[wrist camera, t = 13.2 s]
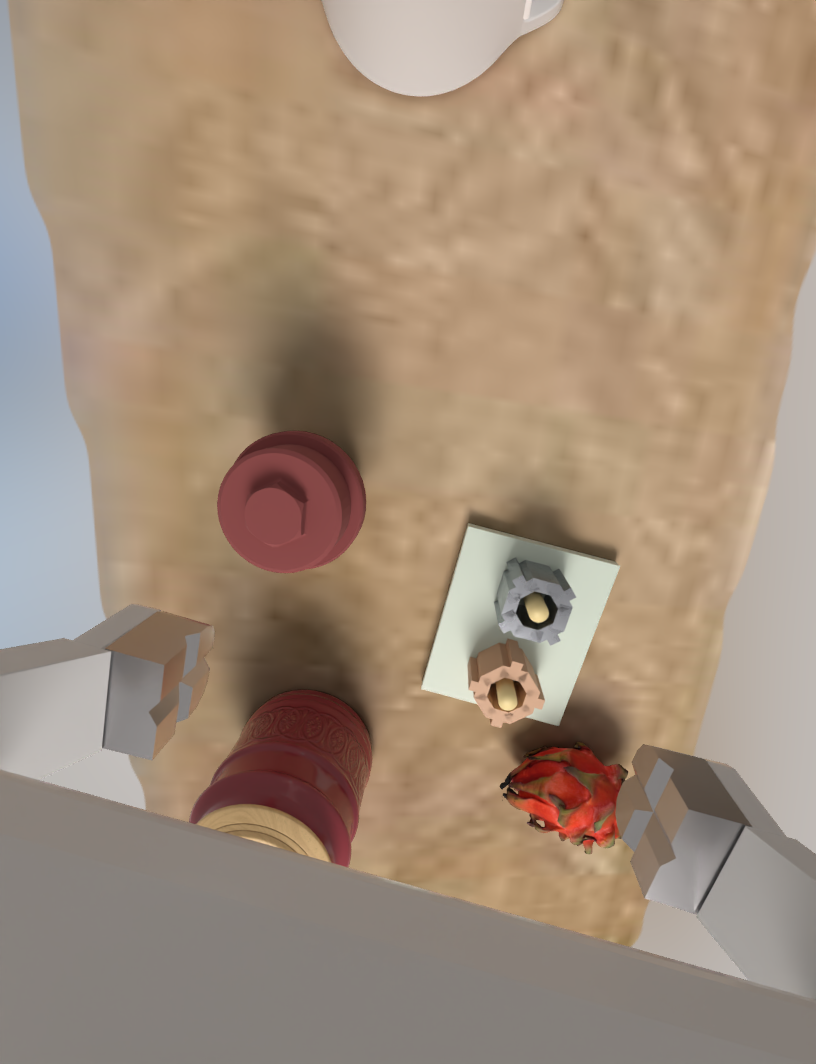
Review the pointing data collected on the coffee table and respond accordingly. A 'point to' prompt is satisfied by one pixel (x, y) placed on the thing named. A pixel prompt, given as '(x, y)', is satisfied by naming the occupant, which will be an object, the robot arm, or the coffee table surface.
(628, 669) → the coffee table surface
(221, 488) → the mechanical component
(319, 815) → the canister
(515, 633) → the loose gear
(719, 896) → the robot arm
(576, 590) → the gear board
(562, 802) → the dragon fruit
